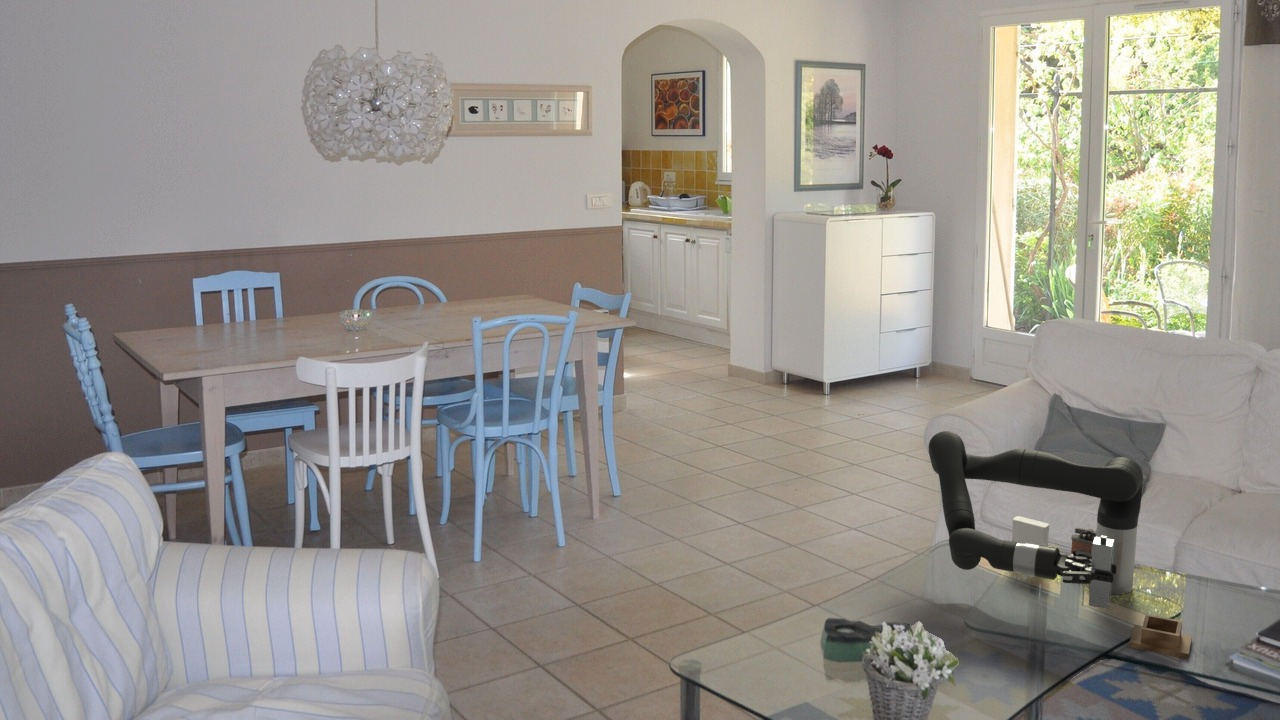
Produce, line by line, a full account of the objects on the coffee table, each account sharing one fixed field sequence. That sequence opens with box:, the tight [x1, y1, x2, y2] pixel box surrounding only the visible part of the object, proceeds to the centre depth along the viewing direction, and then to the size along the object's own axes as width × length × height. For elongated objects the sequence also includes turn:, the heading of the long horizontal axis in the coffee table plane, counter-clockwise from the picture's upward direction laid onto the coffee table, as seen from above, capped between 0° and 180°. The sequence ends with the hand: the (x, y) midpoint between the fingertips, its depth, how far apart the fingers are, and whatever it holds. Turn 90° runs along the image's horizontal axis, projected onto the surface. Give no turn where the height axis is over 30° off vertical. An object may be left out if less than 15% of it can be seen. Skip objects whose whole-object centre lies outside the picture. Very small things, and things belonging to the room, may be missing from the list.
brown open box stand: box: [1128, 613, 1193, 660], centre depth 252 cm, size 12×9×5 cm
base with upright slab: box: [1011, 515, 1050, 546], centre depth 292 cm, size 9×9×12 cm
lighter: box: [1070, 527, 1096, 567], centre depth 291 cm, size 8×3×10 cm, turn 58°
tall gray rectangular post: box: [1088, 535, 1114, 610], centre depth 255 cm, size 4×4×17 cm
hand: (1114, 573), depth 254 cm, fingers closed on tall gray rectangular post, 4 cm apart
